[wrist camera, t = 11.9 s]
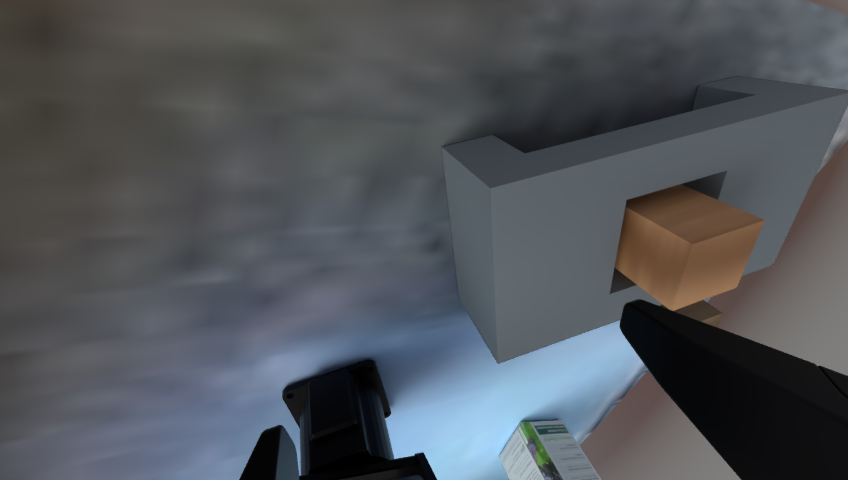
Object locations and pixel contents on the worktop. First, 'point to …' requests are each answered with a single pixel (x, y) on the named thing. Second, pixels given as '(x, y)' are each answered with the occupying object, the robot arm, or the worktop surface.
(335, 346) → the worktop surface
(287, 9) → the worktop surface
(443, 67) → the worktop surface
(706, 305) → the short pin
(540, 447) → the syrup box
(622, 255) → the long pin
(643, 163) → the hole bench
